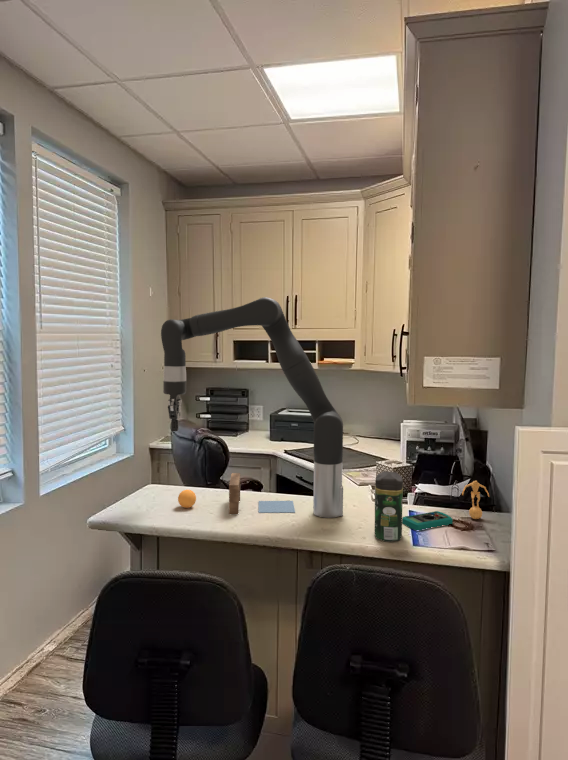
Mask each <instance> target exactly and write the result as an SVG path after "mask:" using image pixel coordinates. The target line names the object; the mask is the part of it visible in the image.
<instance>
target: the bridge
mask: <svg viewBox="0 0 568 760" xmlns="http://www.w3.org/2000/svg"><path fill="white" fill-rule="evenodd" d="M228 501H229V502H228V514H238V513H240V509H239V508H240V507H239V505H240V502H241V473H239V472H232V473H231V475H230V479H229V484H228ZM239 501H240V502H239ZM238 515H239V514H238Z"/></svg>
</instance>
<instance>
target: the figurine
mask: <svg viewBox="0 0 568 760" xmlns="http://www.w3.org/2000/svg"><path fill="white" fill-rule="evenodd" d="M469 487H471V489H472V491H471V492H470V494H471V495H470V496H471V505H472V507H470V509H469V510H468V514H469V516H470V518H472V519H474V520H479V519H481V518H482V516H483V511H482V508H480V506H479V502H480V500H481V496H480V495H481V492H480V491H479V488H480V487H481V488H483V489H484V491H485V492H486V494H487V496H488V498H490V494H489V492H488V490H487V487H486V486H484V485H482V484H480V483H479V482H478V480H473V481H472V482H470V483H469V484H465V486H464V487H463V490H462V493H461V496H464V494H465V490H466V489H467V488H469ZM475 497H476V498H477V500H476V505H475V503H474V502H475Z"/></svg>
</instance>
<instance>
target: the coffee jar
mask: <svg viewBox="0 0 568 760" xmlns="http://www.w3.org/2000/svg"><path fill="white" fill-rule="evenodd" d="M374 484H375V485H374V536H375V539H377V540H380V541H383V542H389V543H392V542H398V541H400V540H401V539H402V537H403V524H402V518H403V504H404V503H403V499H404V498H403V494H404V493H403V492H404V490H403V489H404V479H403V477H402V476H401V475H400V474H399V473H398V472H397V471H386V470H385V471H382V472H380V473H378V474H377V475H376V477H375V482H374Z"/></svg>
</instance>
